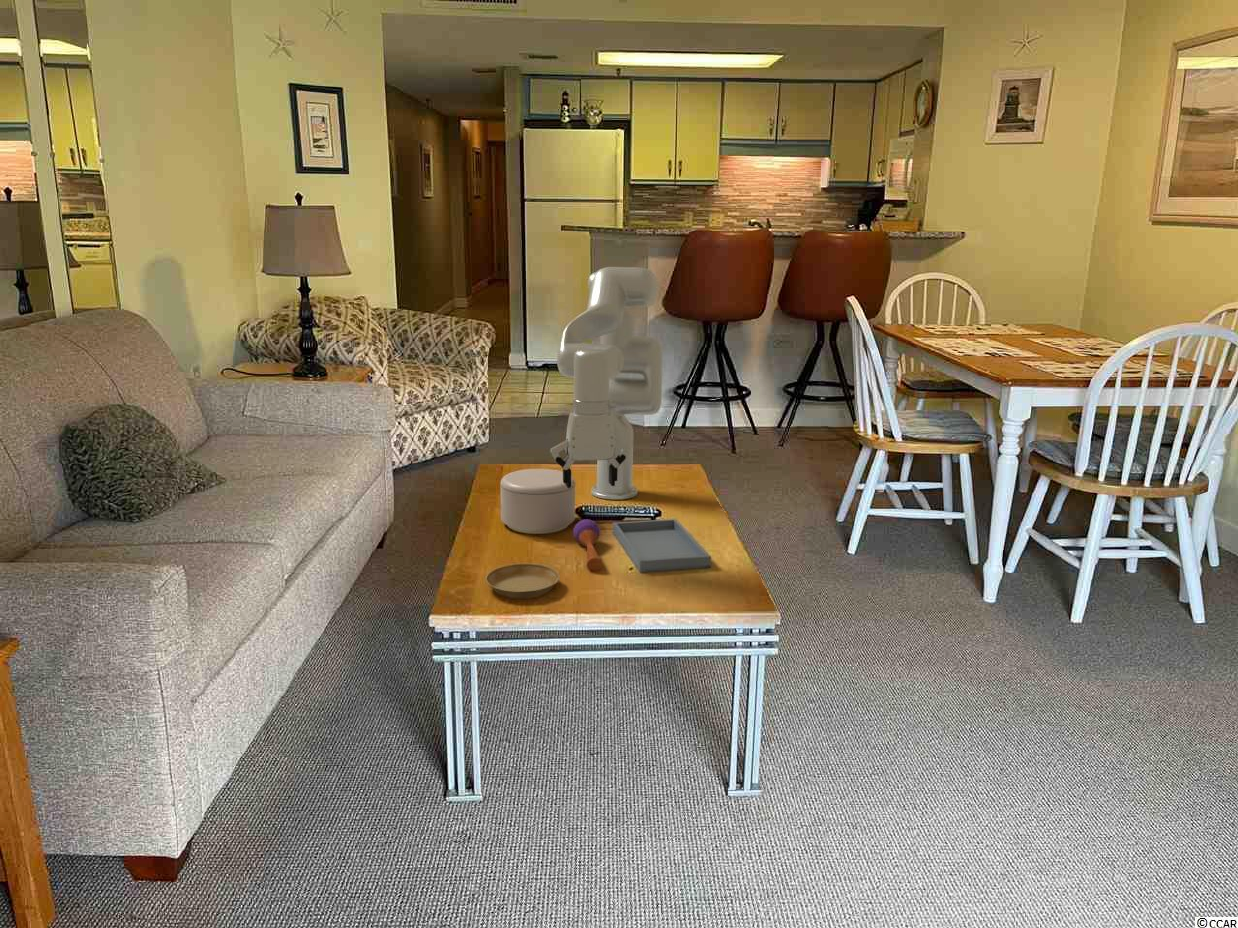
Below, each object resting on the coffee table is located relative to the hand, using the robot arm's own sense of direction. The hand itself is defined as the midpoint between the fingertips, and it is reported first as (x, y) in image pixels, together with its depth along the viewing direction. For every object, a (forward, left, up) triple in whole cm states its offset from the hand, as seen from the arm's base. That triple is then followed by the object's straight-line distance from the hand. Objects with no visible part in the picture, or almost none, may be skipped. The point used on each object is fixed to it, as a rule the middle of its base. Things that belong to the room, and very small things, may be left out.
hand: (590, 485), depth 201 cm
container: (-23, -8, -16) cm, 30 cm away
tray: (0, +16, -16) cm, 23 cm away
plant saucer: (+16, -17, -17) cm, 28 cm away
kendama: (0, 0, -17) cm, 17 cm away
